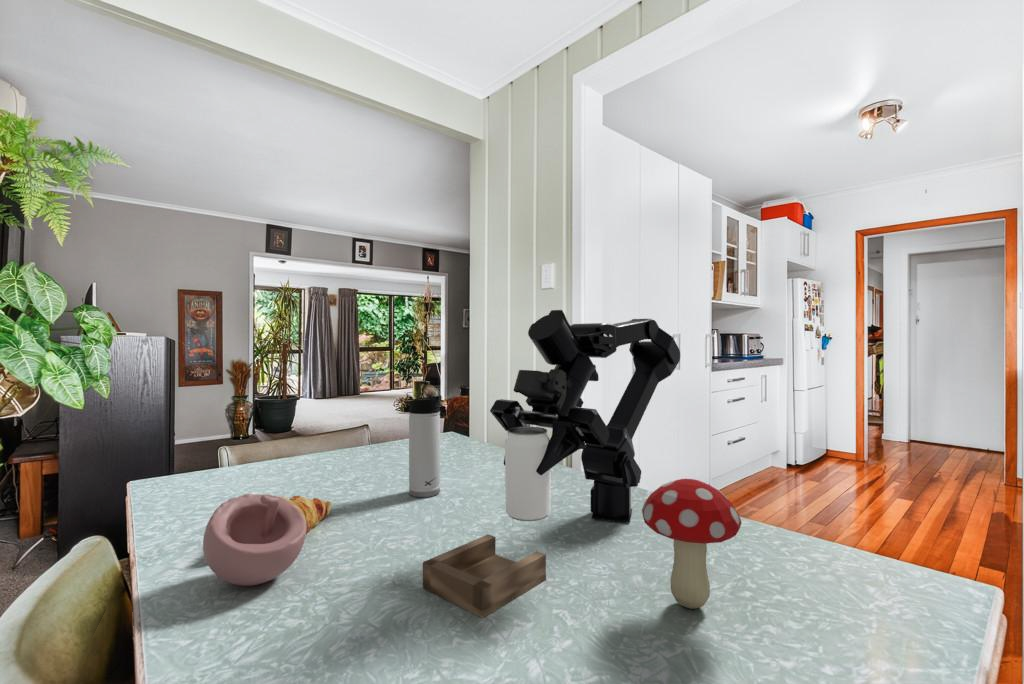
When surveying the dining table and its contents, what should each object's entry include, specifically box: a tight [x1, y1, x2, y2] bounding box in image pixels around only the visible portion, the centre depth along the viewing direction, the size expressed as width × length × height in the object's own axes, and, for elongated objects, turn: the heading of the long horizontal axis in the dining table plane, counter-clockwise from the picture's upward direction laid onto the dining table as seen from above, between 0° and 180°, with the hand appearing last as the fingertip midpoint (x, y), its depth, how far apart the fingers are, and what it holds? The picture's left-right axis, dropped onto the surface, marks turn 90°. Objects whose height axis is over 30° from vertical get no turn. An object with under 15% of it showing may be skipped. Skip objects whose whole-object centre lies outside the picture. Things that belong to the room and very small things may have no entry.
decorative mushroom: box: [641, 478, 743, 610], centre depth 59 cm, size 11×11×15 cm
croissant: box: [277, 495, 333, 534], centre depth 81 cm, size 21×10×8 cm, turn 155°
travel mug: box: [408, 395, 442, 498], centre depth 103 cm, size 6×7×20 cm
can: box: [504, 426, 552, 522], centre depth 72 cm, size 6×6×12 cm
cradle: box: [422, 534, 547, 619], centre depth 65 cm, size 12×10×3 cm
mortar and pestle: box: [202, 493, 308, 587], centre depth 66 cm, size 12×12×12 cm
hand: (521, 469), depth 71 cm, fingers closed on can, 6 cm apart
